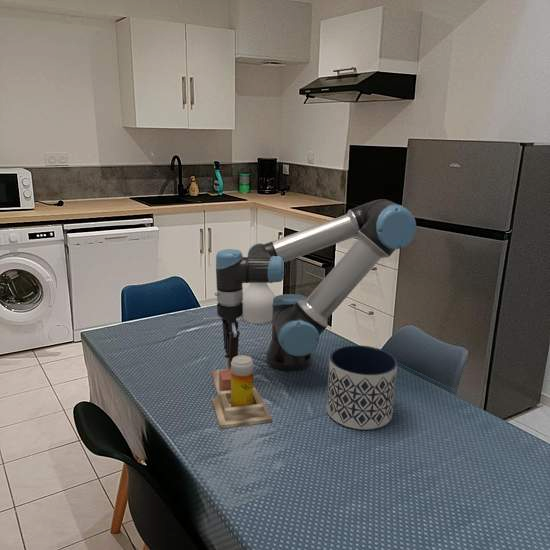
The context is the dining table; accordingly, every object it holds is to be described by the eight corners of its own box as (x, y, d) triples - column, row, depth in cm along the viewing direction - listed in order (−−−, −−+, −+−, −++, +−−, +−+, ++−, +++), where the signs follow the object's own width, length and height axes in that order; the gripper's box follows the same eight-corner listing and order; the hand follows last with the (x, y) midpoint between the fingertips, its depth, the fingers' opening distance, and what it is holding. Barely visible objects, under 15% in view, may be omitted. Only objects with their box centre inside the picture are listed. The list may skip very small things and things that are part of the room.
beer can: (251, 415, 140) (252, 364, 136) (229, 414, 141) (229, 363, 137) (254, 404, 146) (254, 355, 142) (232, 403, 147) (232, 354, 142)
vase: (236, 324, 205) (236, 275, 199) (244, 311, 219) (245, 265, 213) (272, 327, 203) (273, 278, 197) (278, 314, 217) (279, 268, 211)
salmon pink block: (245, 385, 156) (245, 367, 154) (250, 395, 151) (250, 377, 149) (219, 388, 154) (219, 370, 152) (222, 399, 148) (222, 380, 147)
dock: (246, 369, 168) (247, 358, 167) (271, 422, 140) (271, 408, 138) (203, 374, 165) (203, 362, 163) (220, 428, 136) (219, 415, 135)
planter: (352, 389, 158) (356, 339, 153) (404, 413, 145) (410, 360, 140) (312, 411, 145) (315, 357, 140) (366, 439, 133) (371, 382, 128)
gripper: (212, 296, 157) (215, 367, 164) (222, 311, 145) (223, 386, 152) (237, 294, 159) (238, 363, 166) (248, 308, 147) (248, 382, 154)
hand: (231, 374), depth 159 cm, fingers closed
